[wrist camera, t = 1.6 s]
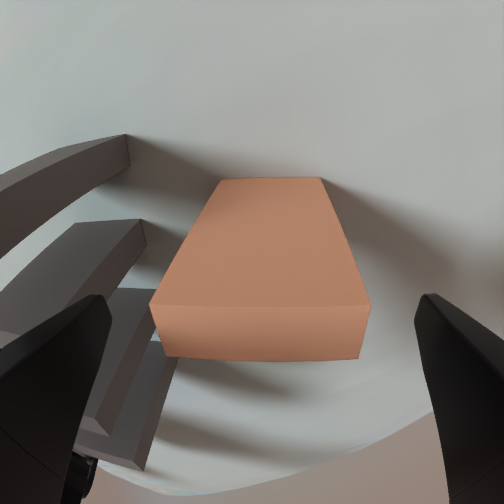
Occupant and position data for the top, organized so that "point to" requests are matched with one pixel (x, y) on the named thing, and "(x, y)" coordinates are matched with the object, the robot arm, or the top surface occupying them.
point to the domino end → (263, 278)
